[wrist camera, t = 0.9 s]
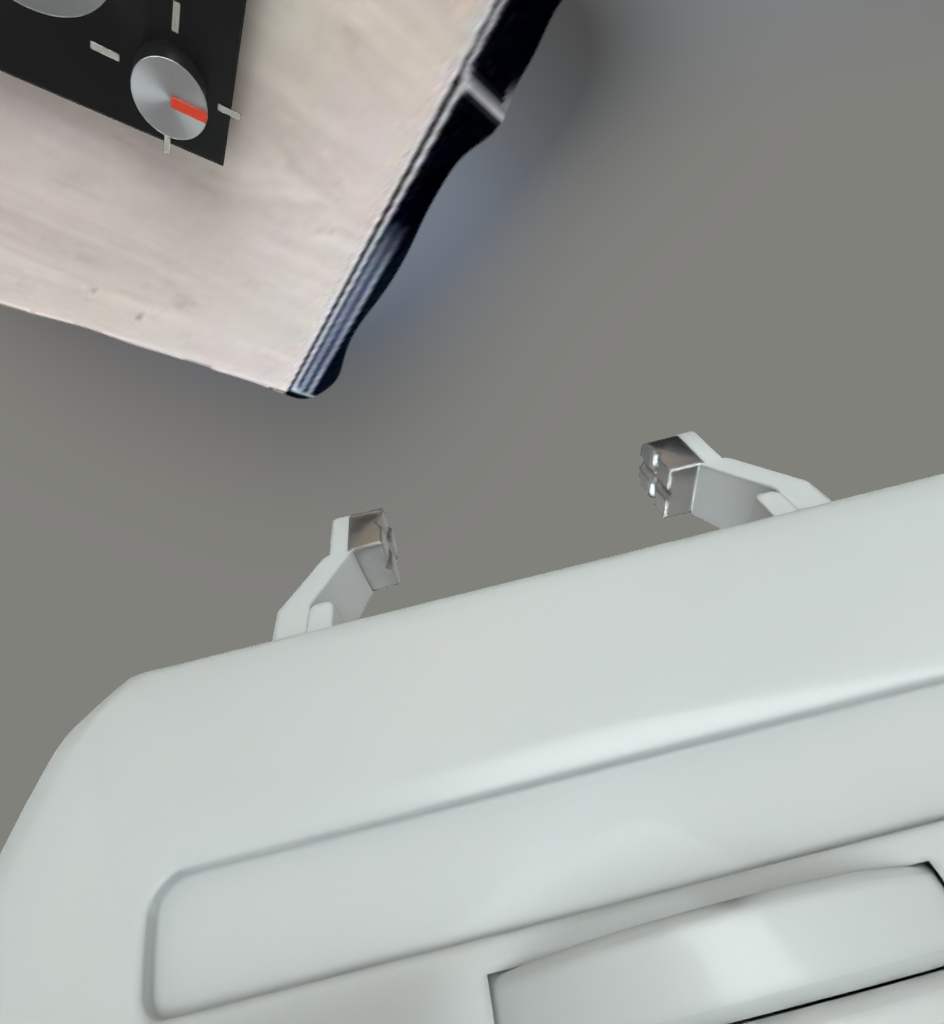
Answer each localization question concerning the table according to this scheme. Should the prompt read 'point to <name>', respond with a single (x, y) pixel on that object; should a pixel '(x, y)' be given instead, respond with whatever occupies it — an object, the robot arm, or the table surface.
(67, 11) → the burner
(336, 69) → the table surface
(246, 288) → the table surface
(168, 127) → the hob knob
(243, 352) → the table surface
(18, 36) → the hob
